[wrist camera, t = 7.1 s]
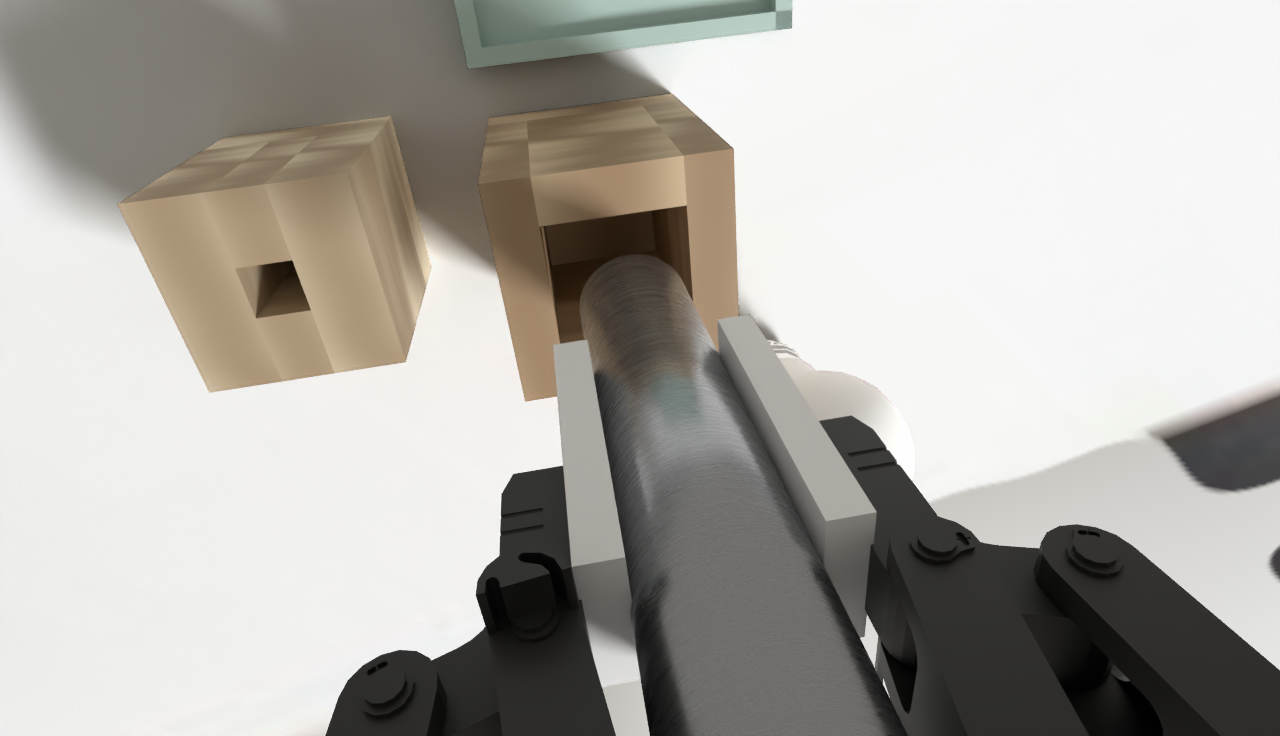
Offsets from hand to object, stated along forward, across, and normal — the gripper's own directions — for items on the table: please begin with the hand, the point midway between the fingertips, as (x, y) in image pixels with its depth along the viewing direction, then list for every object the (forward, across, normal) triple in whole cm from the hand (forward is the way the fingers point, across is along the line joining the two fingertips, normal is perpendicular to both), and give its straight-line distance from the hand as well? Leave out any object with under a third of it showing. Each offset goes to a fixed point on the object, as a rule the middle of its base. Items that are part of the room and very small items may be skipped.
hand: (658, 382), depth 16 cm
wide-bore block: (+15, 0, 0) cm, 15 cm away
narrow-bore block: (+15, -10, +1) cm, 18 cm away
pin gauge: (+4, 0, 0) cm, 4 cm away
